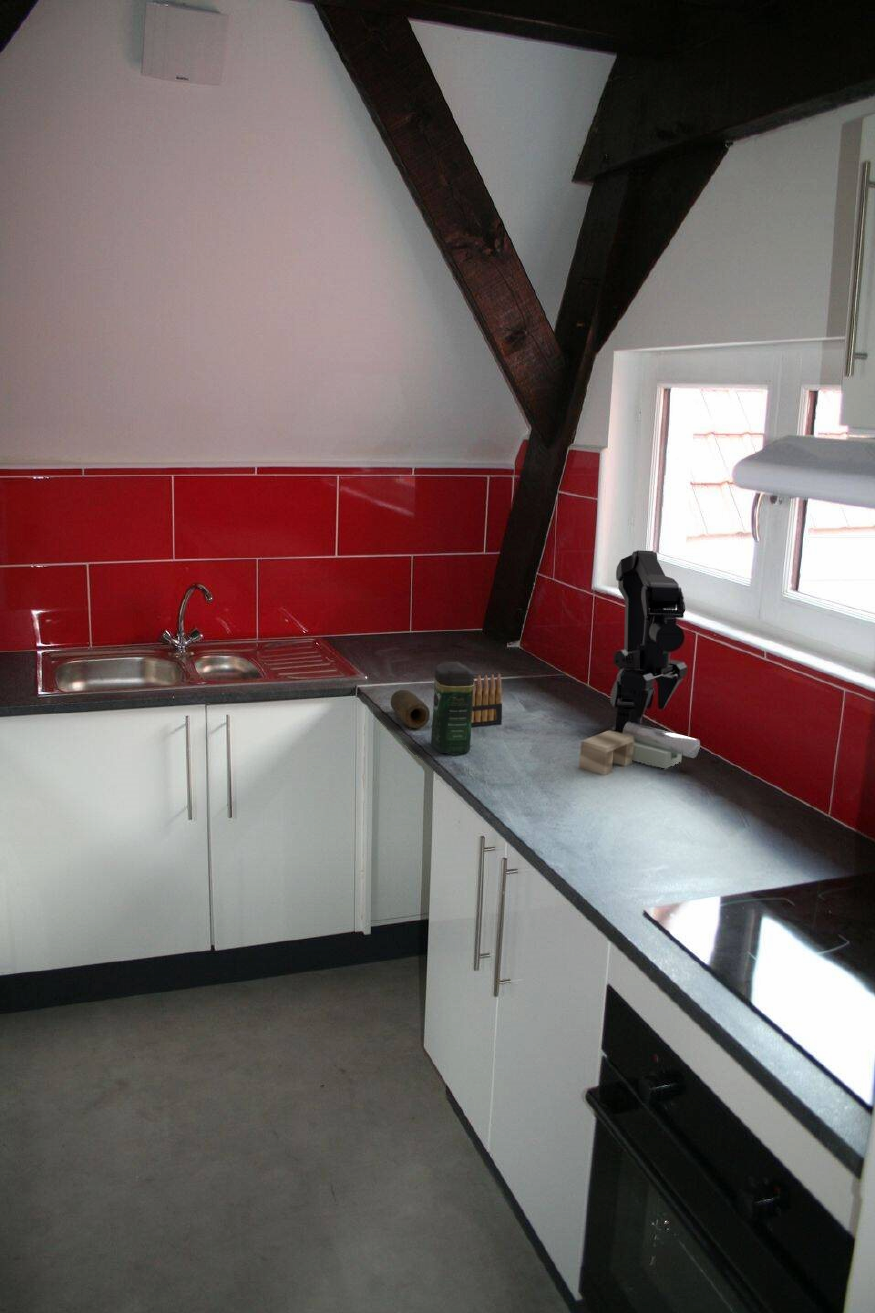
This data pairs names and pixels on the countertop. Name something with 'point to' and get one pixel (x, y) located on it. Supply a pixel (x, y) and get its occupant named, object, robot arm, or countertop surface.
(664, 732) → the axle
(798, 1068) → the countertop surface
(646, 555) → the robot arm
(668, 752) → the v block
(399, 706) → the brown hollow cylinder
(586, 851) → the countertop surface
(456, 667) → the coffee jar
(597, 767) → the wooden bridge block
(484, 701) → the ammunition clip
